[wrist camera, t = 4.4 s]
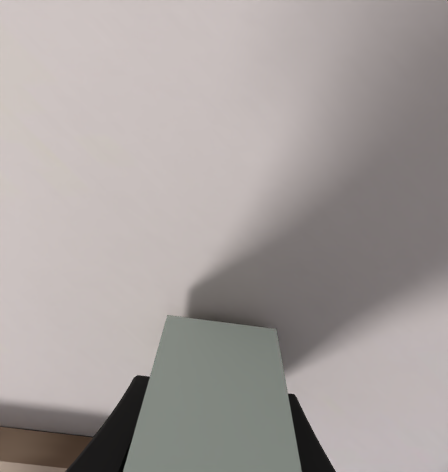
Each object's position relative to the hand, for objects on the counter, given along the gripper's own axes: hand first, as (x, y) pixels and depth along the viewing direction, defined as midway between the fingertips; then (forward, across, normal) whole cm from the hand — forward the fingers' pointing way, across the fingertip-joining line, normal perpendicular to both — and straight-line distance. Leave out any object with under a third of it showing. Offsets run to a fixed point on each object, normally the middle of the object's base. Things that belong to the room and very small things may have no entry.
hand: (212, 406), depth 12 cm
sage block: (+2, 0, 0) cm, 2 cm away
